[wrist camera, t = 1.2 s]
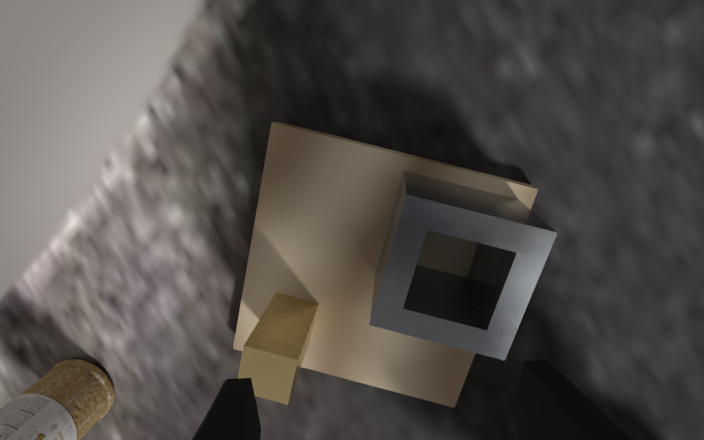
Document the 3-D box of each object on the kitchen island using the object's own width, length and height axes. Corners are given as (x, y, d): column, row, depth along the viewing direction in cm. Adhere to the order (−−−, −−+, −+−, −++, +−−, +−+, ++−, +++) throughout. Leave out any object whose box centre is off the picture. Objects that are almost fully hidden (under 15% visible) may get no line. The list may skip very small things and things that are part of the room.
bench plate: (531, 184, 20) (538, 189, 20) (452, 395, 24) (454, 407, 23) (277, 121, 21) (271, 122, 20) (239, 338, 25) (233, 348, 24)
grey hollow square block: (518, 199, 20) (557, 232, 15) (480, 301, 21) (504, 360, 17) (403, 170, 20) (406, 194, 15) (375, 274, 22) (369, 325, 17)
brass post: (321, 295, 23) (298, 360, 18) (313, 331, 24) (287, 404, 18) (280, 284, 23) (243, 345, 18) (273, 320, 24) (235, 390, 18)
